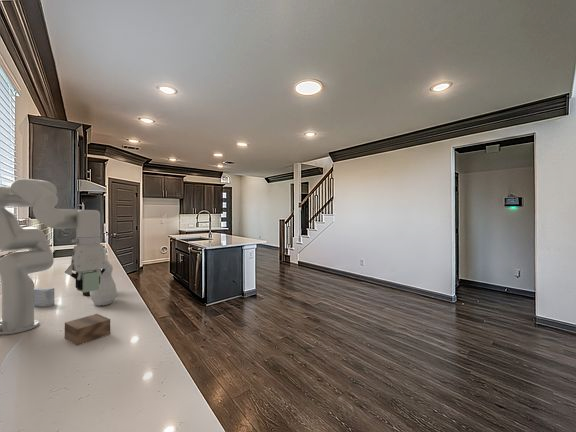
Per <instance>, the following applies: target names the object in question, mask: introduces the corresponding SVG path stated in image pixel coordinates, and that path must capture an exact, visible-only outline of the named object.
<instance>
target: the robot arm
mask: <svg viewBox="0 0 576 432" xmlns="http://www.w3.org/2000/svg"><path fill="white" fill-rule="evenodd" d="M57 194H58V190H57V187H56V185H55V184H54V183H52V182H51V181H48V180H41V179H33V178H18V179H16V180H14V181H13V182H11V183H10V186H7V185H6V186H5V185H0V251H2V252H11V253H7V254H5V255H4V256H2V257H1V258H0V281H1V319H0V335H3V336H5V335H12V334H19V333H23V332H27V331H29V330H32V329H34V328H36V327H38V326H39V325H40V320H39V319H35V306H34V290H35V283H34V281H33V279H32V278H31V277H30V276H29V274H33V273H34V274H35V273H38V272H44V271H47V270H49V269H50V268H52V266H53V265H54V262H55V261H54V255H53V253H52V249H51V247H50V244H49V242H48V239H47V236H46V233H44V231H43V230H41V229H40V228H37V227H22V226H21V225H20V224H19V221H18V217H17V216H16V215H14V213H12V212H11V211H10V210H8V209H7V208H6V207H11V208H12V207H13V208H15V207H16V208H28V207H29V208H30V207H32V213H33V216H34V217H35V219H36V220H37V221H39V222H40V223H41V224H42V225H44V226H46V227H49V228H50V229H57V230H59V229H60V230H62V229H63V230H64V229H76V230H75V238H74V239H73V238H72V239H71V244H75V245H74V246H73V249H72V254H71V261H70V262H71V263H70V265H69V266H68V267H67V268H66V269H65V271H64V273H65V274H67V275H69V276H70V277H72V278H73V279H74V280H75V288H76V290H77V289H78V290H82V279H81V277H82V274H83V272H87V271H93V270H94V271H98V272H99V284H100V276H101V275H102V273H103V272H104V271H105V270H106V269H107V268H109V265H108V264H107V263H106V262H105V253H104V248H105V247H104V246H103V245H104V244H103V243H101V212H100V211H99V210H97V209H80V208H79V209H75V208H55V207H56V206H57V204H58V202H59V197H58V196H57ZM23 250H24V251H23ZM25 250H26V251H25ZM27 250H28V251H27ZM15 251H17V252H15ZM78 290H77V291H78Z"/></svg>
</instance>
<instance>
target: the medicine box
mask: <svg viewBox="0 0 576 432" xmlns="http://www.w3.org/2000/svg"><path fill="white" fill-rule="evenodd" d="M53 305H55V288H54V287H38V288H34V307H44V308H47V307H50V306H53Z"/></svg>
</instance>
